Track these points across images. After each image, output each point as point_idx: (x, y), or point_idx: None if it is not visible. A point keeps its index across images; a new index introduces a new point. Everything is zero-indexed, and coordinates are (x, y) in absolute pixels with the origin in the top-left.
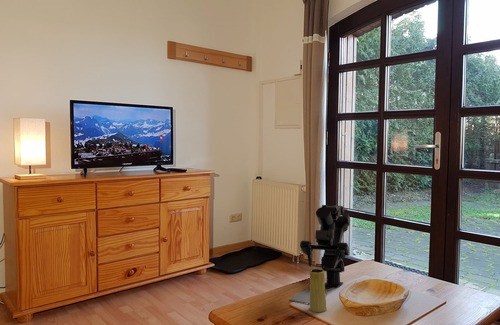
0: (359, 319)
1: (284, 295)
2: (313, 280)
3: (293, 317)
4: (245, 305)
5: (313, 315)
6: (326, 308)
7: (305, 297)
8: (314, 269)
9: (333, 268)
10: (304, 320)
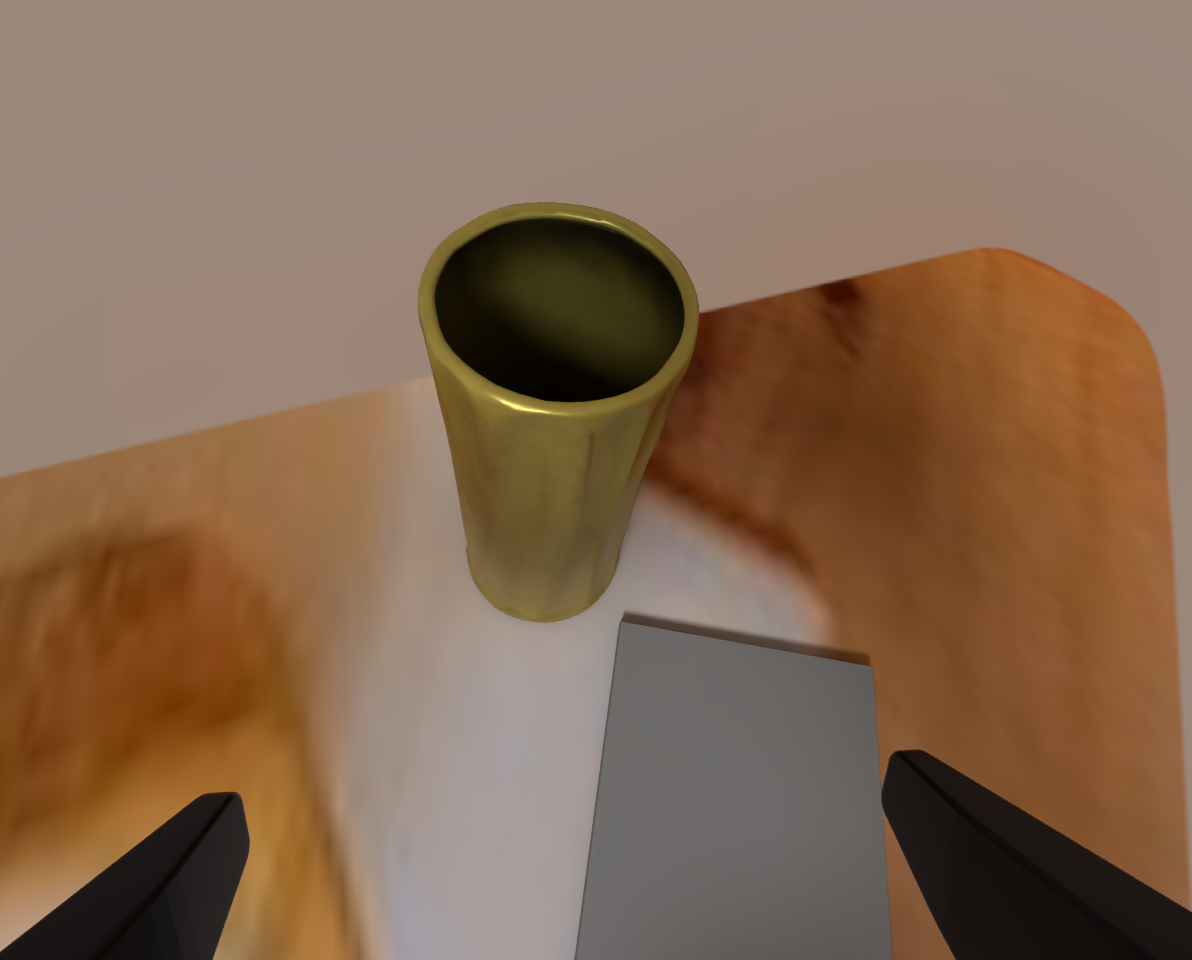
0: (169, 454)
1: None
2: (583, 307)
3: None
4: (1079, 453)
5: None
6: (466, 548)
7: (753, 783)
8: (643, 389)
9: (238, 831)
10: None
